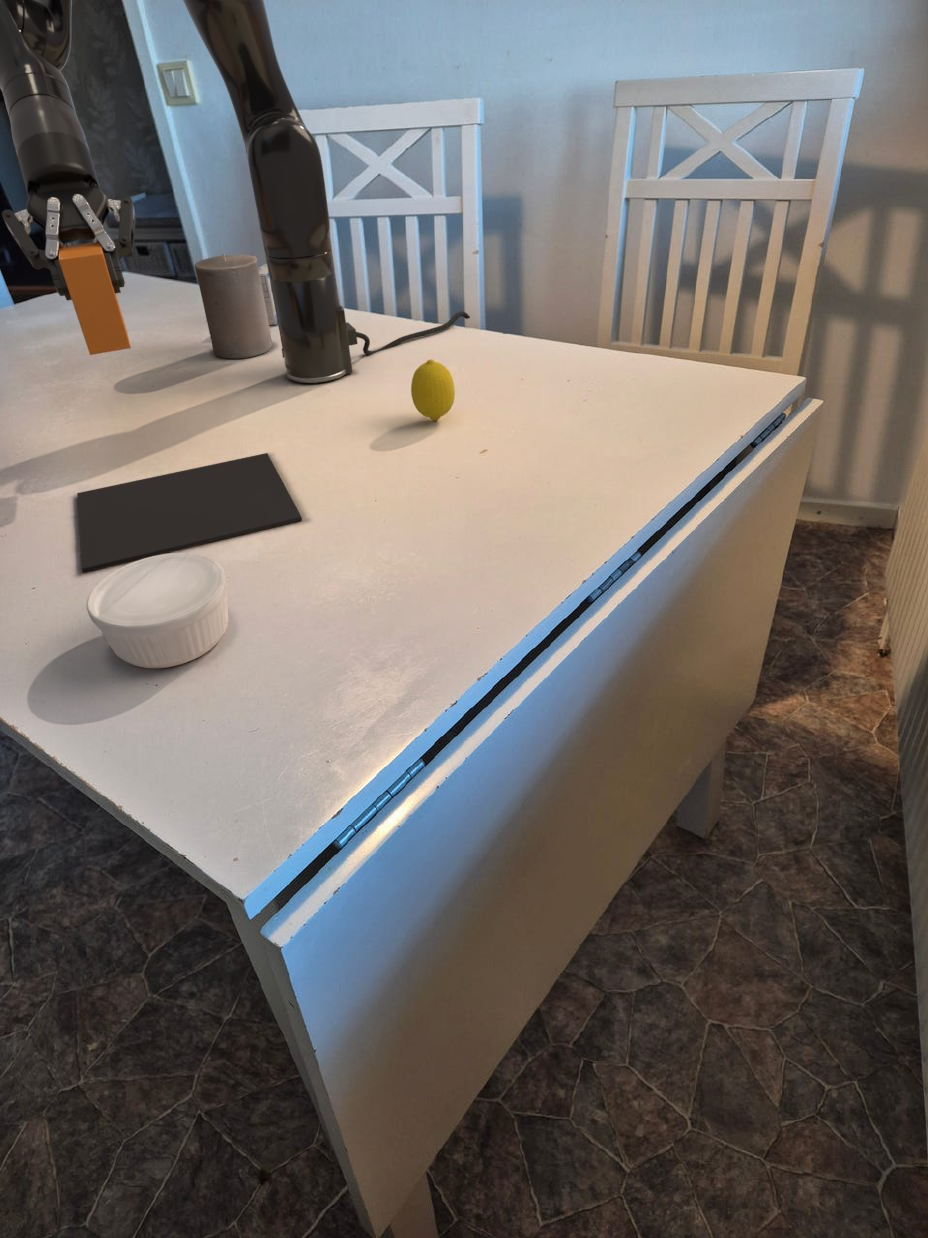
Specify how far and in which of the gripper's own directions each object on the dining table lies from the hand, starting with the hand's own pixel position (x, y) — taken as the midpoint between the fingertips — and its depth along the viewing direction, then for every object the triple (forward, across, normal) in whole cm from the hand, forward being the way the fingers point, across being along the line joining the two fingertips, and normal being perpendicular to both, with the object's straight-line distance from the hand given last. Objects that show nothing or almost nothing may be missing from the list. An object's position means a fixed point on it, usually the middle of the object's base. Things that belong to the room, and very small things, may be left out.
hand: (92, 291), depth 88 cm
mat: (+25, +3, +3) cm, 25 cm away
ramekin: (+42, -1, -14) cm, 44 cm away
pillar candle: (-12, +19, +41) cm, 47 cm away
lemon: (+19, +36, +10) cm, 42 cm away
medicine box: (-23, +26, +52) cm, 62 cm away
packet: (+3, 0, +6) cm, 6 cm away
